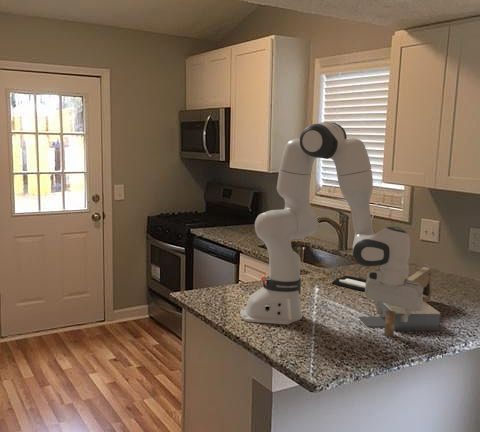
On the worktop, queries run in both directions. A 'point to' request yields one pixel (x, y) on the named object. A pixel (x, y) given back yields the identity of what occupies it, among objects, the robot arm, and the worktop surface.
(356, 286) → the light switch
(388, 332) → the tan rounded peg
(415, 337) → the worktop surface
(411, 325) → the grey box with hole
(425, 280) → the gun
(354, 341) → the worktop surface
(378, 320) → the mat
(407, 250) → the robot arm
